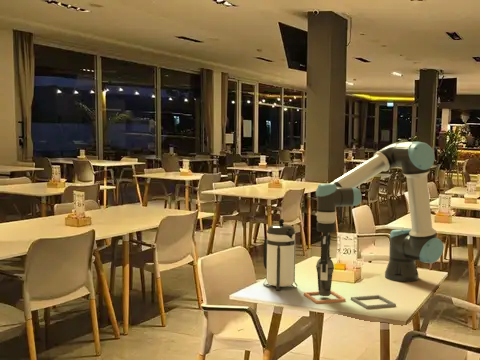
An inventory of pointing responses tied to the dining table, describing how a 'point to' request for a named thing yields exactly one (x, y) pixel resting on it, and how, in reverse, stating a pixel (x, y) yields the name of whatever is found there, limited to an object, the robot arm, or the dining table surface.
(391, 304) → the frame
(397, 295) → the dining table surface
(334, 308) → the dining table surface
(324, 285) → the beverage cup
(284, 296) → the dining table surface
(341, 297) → the frame
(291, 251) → the coffee press
